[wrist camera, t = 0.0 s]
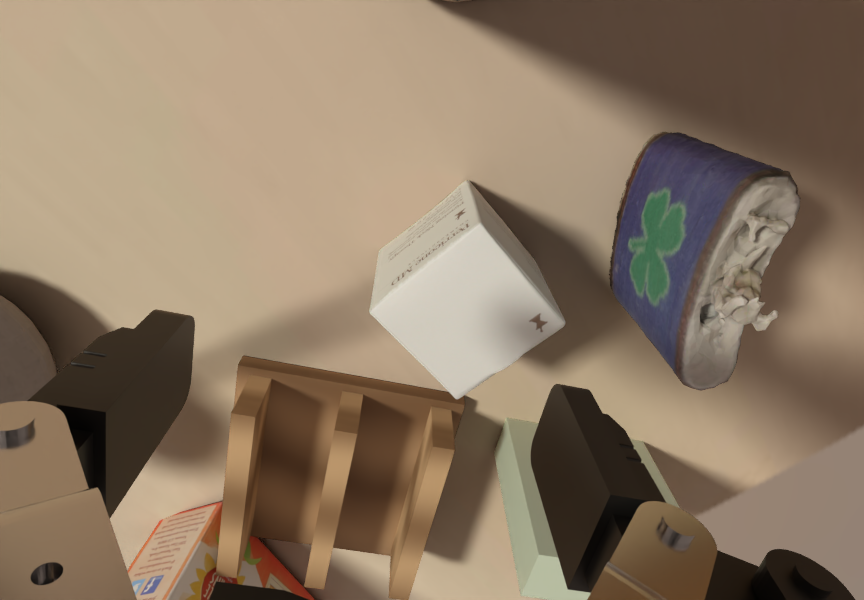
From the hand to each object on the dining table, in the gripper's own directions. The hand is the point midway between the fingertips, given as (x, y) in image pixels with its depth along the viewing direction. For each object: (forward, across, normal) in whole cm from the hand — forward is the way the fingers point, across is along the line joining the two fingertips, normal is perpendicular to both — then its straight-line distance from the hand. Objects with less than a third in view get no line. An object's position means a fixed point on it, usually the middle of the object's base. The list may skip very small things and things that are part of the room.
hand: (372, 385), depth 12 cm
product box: (+18, -4, +2) cm, 18 cm away
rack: (+18, 0, +17) cm, 25 cm away
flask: (+17, -13, -2) cm, 22 cm away
